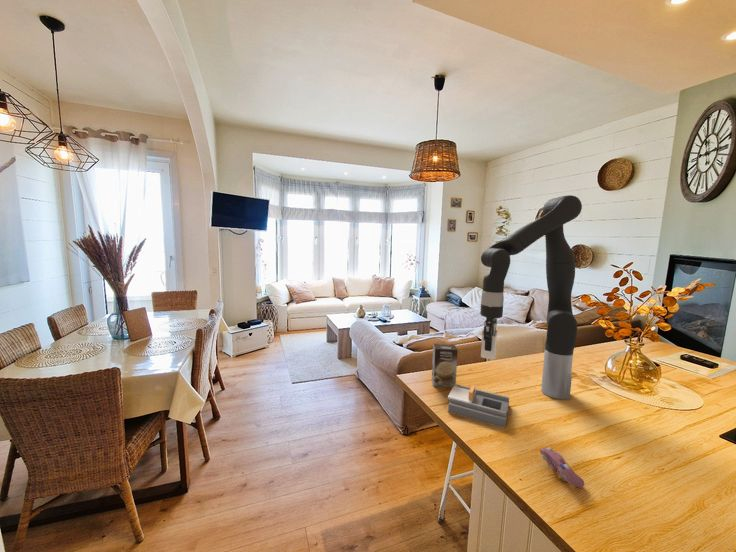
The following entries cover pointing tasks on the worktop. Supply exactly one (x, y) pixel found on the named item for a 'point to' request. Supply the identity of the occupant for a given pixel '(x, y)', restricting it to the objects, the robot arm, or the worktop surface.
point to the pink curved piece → (561, 467)
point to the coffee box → (444, 365)
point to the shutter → (463, 393)
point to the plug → (491, 353)
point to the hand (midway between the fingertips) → (488, 348)
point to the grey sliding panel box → (482, 407)
